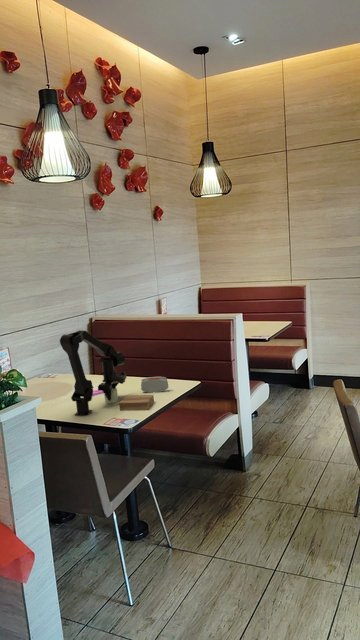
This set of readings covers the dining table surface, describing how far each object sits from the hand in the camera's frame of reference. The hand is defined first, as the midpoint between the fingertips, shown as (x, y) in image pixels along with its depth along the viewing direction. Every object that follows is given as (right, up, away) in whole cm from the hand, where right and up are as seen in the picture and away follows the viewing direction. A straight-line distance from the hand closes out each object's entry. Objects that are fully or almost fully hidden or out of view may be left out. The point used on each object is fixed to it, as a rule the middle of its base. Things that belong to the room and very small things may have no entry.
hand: (111, 398), depth 262 cm
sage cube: (0, -1, 0) cm, 1 cm away
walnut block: (+14, -2, -11) cm, 18 cm away
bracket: (-11, 0, +17) cm, 20 cm away
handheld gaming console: (+22, +2, +11) cm, 24 cm away
